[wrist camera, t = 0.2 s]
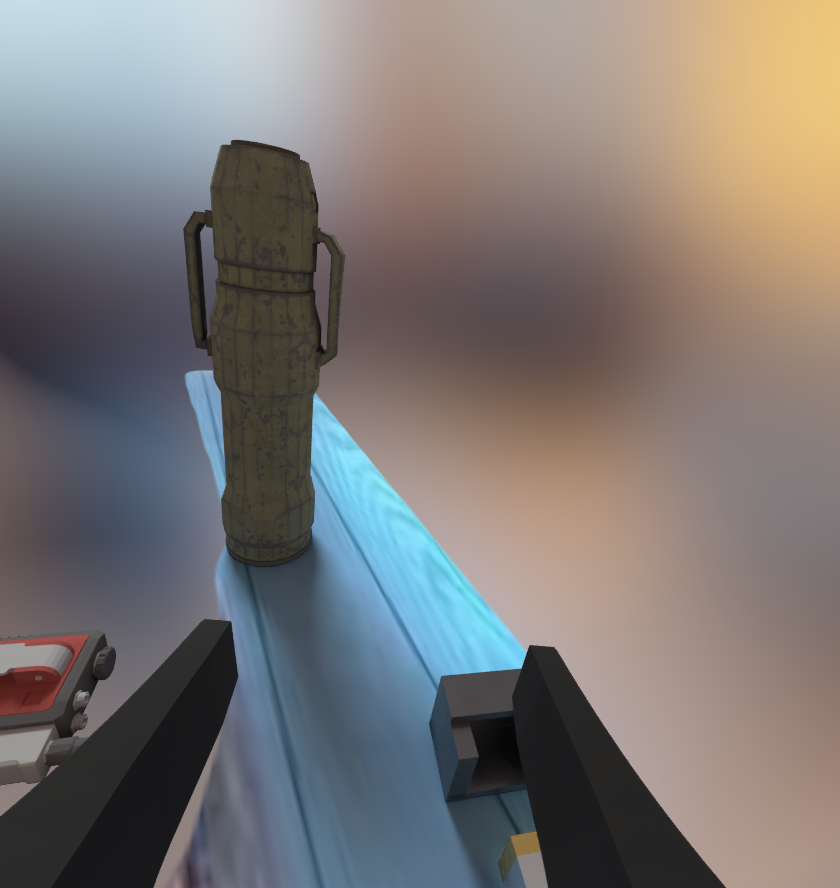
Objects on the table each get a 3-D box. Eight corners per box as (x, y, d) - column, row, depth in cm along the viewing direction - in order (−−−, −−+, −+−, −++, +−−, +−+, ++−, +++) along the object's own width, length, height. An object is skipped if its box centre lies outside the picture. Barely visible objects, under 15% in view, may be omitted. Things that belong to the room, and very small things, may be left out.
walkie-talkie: (-245, 831, 21) (197, 763, 26) (-297, 783, 19) (190, 719, 24) (-99, 671, 29) (222, 642, 34) (-125, 624, 27) (218, 602, 32)
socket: (544, 785, 28) (568, 738, 25) (445, 802, 26) (461, 753, 24) (516, 713, 32) (534, 667, 30) (429, 724, 30) (441, 675, 28)
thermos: (328, 565, 43) (355, 157, 28) (200, 570, 40) (153, 116, 25) (326, 513, 51) (347, 172, 36) (219, 514, 48) (192, 142, 33)
